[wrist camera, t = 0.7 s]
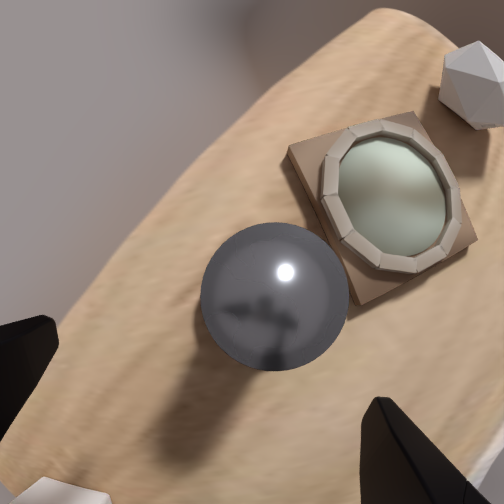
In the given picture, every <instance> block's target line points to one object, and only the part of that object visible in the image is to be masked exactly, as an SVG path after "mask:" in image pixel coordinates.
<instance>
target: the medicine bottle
mask: <svg viewBox="0 0 504 504" xmlns="http://www.w3.org/2000/svg"><path fill="white" fill-rule="evenodd" d="M8 504H112V502H111V498H110V496H109V494H107V493H104V492H99V491H95V490H90V489H86V488H82V487H78V486H75V485H71V484H67V483H64V482H61V481H57V480H54V479H51V478H48V477H42V478H41V479H39V480H38V481H37V482H36V483H34V484H33V485H32V486H30V487H29V488H28V489H27V490H25V491H24V492H23V493H21V494H20V495H19V496H18V497H16V498H15V499H14V500H12V501H11V502H10V503H8Z"/></svg>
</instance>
